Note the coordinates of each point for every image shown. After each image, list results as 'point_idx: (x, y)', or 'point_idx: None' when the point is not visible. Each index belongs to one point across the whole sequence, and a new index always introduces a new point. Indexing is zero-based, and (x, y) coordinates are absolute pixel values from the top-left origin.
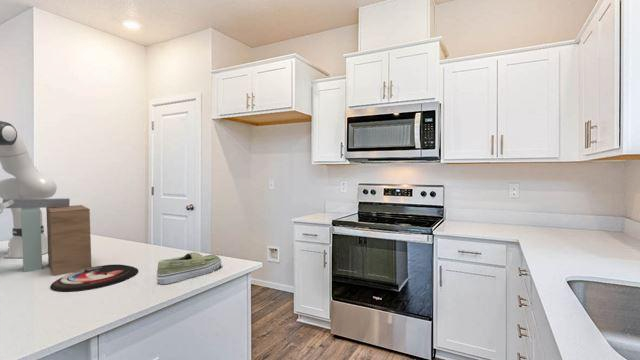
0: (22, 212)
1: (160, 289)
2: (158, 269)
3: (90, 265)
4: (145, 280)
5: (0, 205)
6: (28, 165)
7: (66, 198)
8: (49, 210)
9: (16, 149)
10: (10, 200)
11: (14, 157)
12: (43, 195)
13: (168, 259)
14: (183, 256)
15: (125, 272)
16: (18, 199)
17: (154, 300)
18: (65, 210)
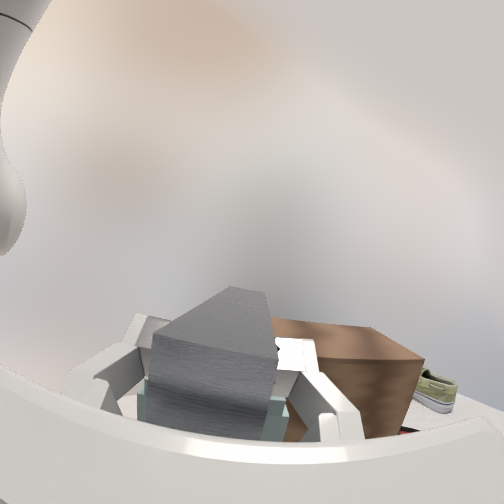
0: (286, 417)
1: (465, 411)
2: (454, 395)
3: None
4: (432, 421)
5: (356, 433)
6: (4, 90)
7: (231, 287)
8: (372, 359)
9: (40, 2)
10: (315, 349)
11: (11, 28)
12: (2, 246)
13: (438, 382)
14: (420, 375)
15: (413, 429)
16: (264, 324)
17: (493, 412)
18: (393, 344)
